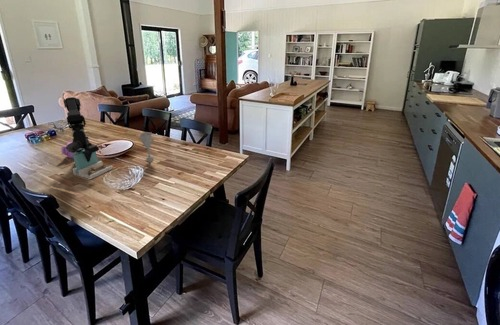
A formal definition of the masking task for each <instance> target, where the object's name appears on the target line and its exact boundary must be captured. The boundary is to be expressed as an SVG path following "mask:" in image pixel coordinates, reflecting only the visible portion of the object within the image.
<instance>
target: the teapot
mask: <svg viewBox="0 0 500 325" xmlns="http://www.w3.org/2000/svg"><path fill="white" fill-rule="evenodd" d="M87 137H88V140H90V139H89V138H90V136H87ZM72 142H73V140H71V141H69V142H67V143H66V144H65V145H63V146H61V147H60V148H61V154H62V155H64V156H67V157H68V158H69V159H73V160H74V158H73V155H72V154H74V153H77V152H74V153H72V152H68V150H67V149H66V148H65V147H66V146H67V145H68V144H70V143H72Z"/></svg>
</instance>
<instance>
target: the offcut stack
mask: <svg viewBox="0 0 500 325" xmlns="http://www.w3.org/2000/svg"><path fill="white" fill-rule="evenodd" d="M107 167H108V166H105V164H99V165H97V166H95V167H93V168H91V170H90V171H88V172H89V173H88V175H89V176H90V175H92V174H94V173H96V172H98V171H100V170H103V169H105V168H107Z"/></svg>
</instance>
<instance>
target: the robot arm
mask: <svg viewBox="0 0 500 325" xmlns="http://www.w3.org/2000/svg"><path fill="white" fill-rule="evenodd" d="M63 105H64V108H66V110H67V111H68V112H67V116H66V121H67V125H68V129H71V130H72V131H71V132H72V141H73V142H72V141H71V142H72V143H70V144H68V145H67V146H66V145H65V146H66V147H65V148H66V149H67V150H68V152H72V153H74V152H80V151H83V150H84V152H82V153H83V154H85V157H86V159H87V162H89V161H90V159H91V155H92V153H93V152H96V153H97V152H98V151H100V148H99V146H97V145H94V144H92V143H91V142H90V139H88V137H89V136H87V134H86V132H85V128H84V127H86V125H87V122H86V119H85V116H84V115H83V114H82V113H81V111H80V110H81V107H82V105H81V100H80V98H76V97H74V96H73V97H65V99H64V100H63Z"/></svg>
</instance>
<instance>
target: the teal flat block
mask: <svg viewBox="0 0 500 325" xmlns="http://www.w3.org/2000/svg"><path fill="white" fill-rule="evenodd" d="M82 152H84V150H83V151H80V152H77V153H74V154H72V155H73V158H74V159H73V158H72V159H73V161H74V164H75V168H76V169H77V172H78V170H81V169H83V168H85V167H88V166H90V165H92V164H95V163H97V162H99V159H98V156H97V151H96V152H93V153H92V155H91V159H90V161H89V162H87V159H86V157H85V154H83V153H82Z"/></svg>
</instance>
